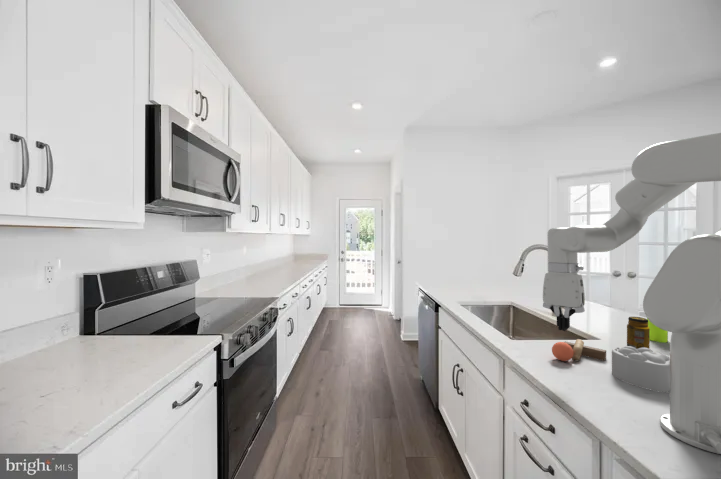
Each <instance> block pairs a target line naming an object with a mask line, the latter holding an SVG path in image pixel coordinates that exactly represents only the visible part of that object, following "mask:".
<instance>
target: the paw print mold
mask: <svg viewBox="0 0 721 479" xmlns="http://www.w3.org/2000/svg"><path fill="white" fill-rule="evenodd" d="M611 374H612V376H614V377H615V378H616V379H618V380H620V381H622V382H624V383H626V382H627V383H628V384H629V383H630V385H632V384H633V386H635V385H636V386H635V387H640V388H642V387H643V389H646V388H647V389H646V390H649V389H651V390H650V391H653V390H654V392H657V391H659V392H658V393H665V392H666V394H667V393H670V356H667V355H666V354H663V353H660V352H654V350H652V349H651V348H650V347H649V348H638V349H636V348H634V347H631V346H627V345H625V346H622V347H616V348H615V347H614V348H612V350H611Z"/></svg>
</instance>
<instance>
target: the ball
mask: <svg viewBox="0 0 721 479" xmlns="http://www.w3.org/2000/svg"><path fill="white" fill-rule="evenodd" d="M564 342H565V341H557V342H555V343H554V344H553V345H552V347H551V353H552V355H553V356H554V357H555V358H556V359H557V360H558V361H561V362H568V361H570V360H572V357H573V349H572V348H571V346H570V345H568V344H567V343H564Z"/></svg>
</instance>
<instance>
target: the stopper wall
mask: <svg viewBox="0 0 721 479" xmlns="http://www.w3.org/2000/svg"><path fill="white" fill-rule="evenodd" d="M563 342H564V343H567V344H568V345H570V346H571V348H572V349H573V348H574V345H575V342H574V343H573V342H569V341H563ZM582 356H583V357H587V358H592V359H594V360H595V359H596V360H600V361H606V360H607V350H606V349H603V348H597V347H592V346H587V345H584V346H583V349H582V353H581V357H582Z"/></svg>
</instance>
